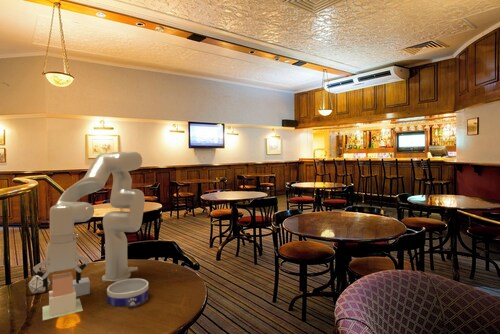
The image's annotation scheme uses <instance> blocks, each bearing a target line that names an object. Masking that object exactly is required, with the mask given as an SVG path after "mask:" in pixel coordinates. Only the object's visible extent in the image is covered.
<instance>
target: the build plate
mask: <svg viewBox="0 0 500 334" xmlns="http://www.w3.org/2000/svg"><path fill="white" fill-rule="evenodd" d="M83 311H84V309H83V307H82V302H81V300H80V298H76V310H74V311H70V312H65V313H61V314H57V315H53V316H50V314H49V304H48V305H44V306H42V321H46V320H51V319H54V318H59V317H63V316H67V315H71V314H75V313H79V312H83Z"/></svg>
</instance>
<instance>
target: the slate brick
mask: <svg viewBox="0 0 500 334" xmlns="http://www.w3.org/2000/svg"><path fill="white" fill-rule="evenodd" d="M73 286H74V288H75V292H76V297H80V296H87V295H90V293H91V287H90V286H91V281H90V278H89V276H88V277H81V280H79V284H77V283H76V279H73Z"/></svg>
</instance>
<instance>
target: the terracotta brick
mask: <svg viewBox="0 0 500 334" xmlns="http://www.w3.org/2000/svg"><path fill="white" fill-rule="evenodd" d="M51 277H52V280H51V282H52V283H51V284H52V286H51V287H52V289H51V291H52V292H53V297H57V296H61V295H66V294H71V293H73V280H74V278H73V277H74V276H73V274H72V272H71V271H69V272H68V271H67V272H63V273H58V274H52V276H51Z"/></svg>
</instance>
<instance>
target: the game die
mask: <svg viewBox="0 0 500 334" xmlns="http://www.w3.org/2000/svg"><path fill="white" fill-rule="evenodd" d="M32 275H33V277H32V278H31V279H30V281H29V282H28V284H27V283H26V284H25V286H27V287H28V289H29V291H30V292H31V294H30V296H32V295H34V294H41V293H44V294H46V291H47V290H45V287H43V279H42V278H41V277H40V276H38V275H37V274H36V273H35V274H34V273H33V274H32ZM48 276H49V275H48ZM48 276H47V277H48ZM51 284H52V281H50V279H49V277H48V287H49V286H50V285H51Z"/></svg>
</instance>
